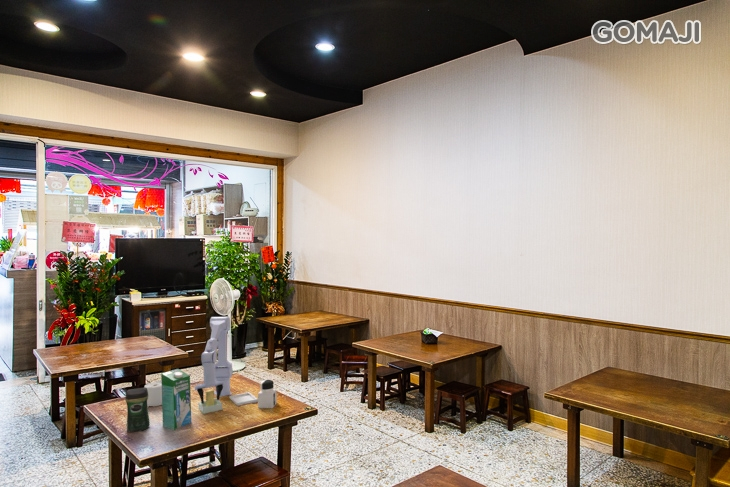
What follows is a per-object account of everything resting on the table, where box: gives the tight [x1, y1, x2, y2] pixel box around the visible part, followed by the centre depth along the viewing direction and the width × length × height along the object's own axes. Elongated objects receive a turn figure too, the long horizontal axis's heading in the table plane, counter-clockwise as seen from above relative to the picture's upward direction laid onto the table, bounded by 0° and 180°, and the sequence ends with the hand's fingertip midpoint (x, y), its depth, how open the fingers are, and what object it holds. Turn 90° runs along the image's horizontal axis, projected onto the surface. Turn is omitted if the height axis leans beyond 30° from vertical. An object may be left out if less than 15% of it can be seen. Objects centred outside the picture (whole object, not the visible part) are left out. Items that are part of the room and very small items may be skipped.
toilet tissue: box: [143, 380, 162, 407], centre depth 252 cm, size 11×12×10 cm
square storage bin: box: [197, 398, 224, 414], centre depth 240 cm, size 10×10×4 cm
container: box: [257, 379, 278, 409], centre depth 244 cm, size 8×8×13 cm
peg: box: [205, 389, 215, 406], centre depth 240 cm, size 4×4×9 cm
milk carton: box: [160, 368, 192, 431], centre depth 221 cm, size 9×9×25 cm
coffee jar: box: [125, 387, 151, 432], centre depth 218 cm, size 10×8×19 cm
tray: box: [228, 391, 258, 407], centre depth 252 cm, size 14×11×2 cm
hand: (210, 401), depth 240 cm, fingers open, 7 cm apart
